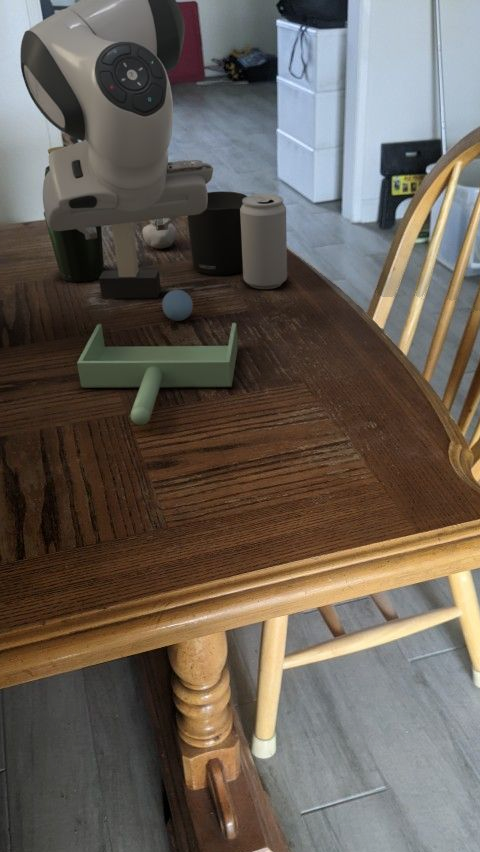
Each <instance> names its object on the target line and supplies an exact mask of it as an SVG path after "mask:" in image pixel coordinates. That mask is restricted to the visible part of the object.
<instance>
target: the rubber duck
mask: <svg viewBox="0 0 480 852" xmlns="http://www.w3.org/2000/svg"><path fill="white" fill-rule="evenodd" d="M148 221H149V223H150V224H147V225H146V226H143V227H142V231H141V232H142V237H143V240H144V241H145V242H146V244H148V245H149V246H151V247H152V248H153V249H159V250H161V249H166V248H169V247H170V246H172V245H174V244H173V243H174V242H175V241H176V239H177V228H176V227H175V225H174V224H173V223H170V224H168V230H159V231H157V230H156V225H155V220H148Z"/></svg>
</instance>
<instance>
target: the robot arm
mask: <svg viewBox="0 0 480 852" xmlns="http://www.w3.org/2000/svg"><path fill="white" fill-rule="evenodd" d="M185 28H186V27H185V20H184V16H183V13H182V10H181V7H180V6H179V4H178V2H177V0H78V1H76V2H75V3H73V4H72V5H70V6H68V7H66V8H62V9H60V10H59V11H57V12H55V13H53V14H51V15H50V16H48V17H46V18H45V19H43V20H41V21H39V22H38V23H36V24H35V25H33V26H32V27H30V28H29V29H28V30H26V31H24V33H23V35H22V39H21V43H20V56H19V57H20V69H21V74H22V75H21V76H22V79H23V81H24V85H25V87H26V90H27V92H28V95H29V97H30V98H31V100H32V102H33V104H34V105H35V107H36V108H37V109H38V110H39V112H40V114H42V115H43V117H44V118H45V119H46V120H47V121H48V122H49V123H50V124H51V125H52V126H54V127H55V128H56V129H57V130H59V131H61V132H63V133H64V134H65V135H67V136H69V137H71V138H73V139H76V140H79V141H78V142H76V143H73V144H70V145H67V147H64V148H61V149H57V150H54V151H52V152H51V153H50V154H49V153H48V166H49V168H50V171H49V172H48V173H47V174H46V176H45V175H44V179H43V184H42V205H43V210H44V211H45V216H46V221H47V224H46V226H47V225H48V227H49V228H50V229H52V230H54V231H64V230H72V229H77V230H78V231H80V232H82V233H84V234H85V238H86V240H87V239H95V238H97V231H96V228H95V227H97V226H101V227H105V226H112V225H114V224H122V223H131V222H133V223H138V222H139V223H140V222H147V221H149V220H155V225H156V230H157V231H159V230H168V224H172V223H173V222H174V221H176V220H177V219H178V218H181V217H187V216H189V215H198V214H200V213H202V212H203V211H205V210H206V208H207V203H208V194H207V193H208V187H207V184H209V183H210V182H211V180H212V178H213V173H214V167H213V166H212V164H210V163H208V162H207V163H206V162H203V161H202V160H199V159H183V160H173V161H169V150H168V149H169V148H170V147H169V146H170V144H171V139H172V134H173V120H174V101H173V94H172V88H171V83H170V79H169V75H168V72H171V71H172V70H174V69H175V68H176V67H177V65H178V63H179V61H180V58H181V54H182V51H183V47H184V39H185ZM44 211H43V212H44ZM46 221H45V222H46Z"/></svg>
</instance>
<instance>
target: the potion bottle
mask: <svg viewBox="0 0 480 852" xmlns="http://www.w3.org/2000/svg"><path fill="white" fill-rule="evenodd" d="M67 146H68V145H67ZM67 146H66V145H65V146H55V147H51V148H49V149H47V152H48V155H49V154H50V153H51V152H52V151H54V150H57V149H61V148H64V147H67ZM49 171H50V168H49V165H48V166H46V167H45V169H44V177H45V176H46V174H47V173H48V172H49ZM43 217H44V220H45V224H46V228H47V232H48V235H49V239H50V242H51V245H52V249H53V253H54V256H55V260H56V263H57V267H58V271H59V275H60V277H61V278H62V279H63V280H65V281H67V282H70V283H84V282H90V281H94V280H97V279H99V277H100V276H101V274H102V272H103V271H105V264H104V249H103V248H104V247H103V246H104V245H103V230H102V226H97V227H95V228H96V231H97V238H95V239H87V240H86V238H85V234H84V233H82V232H80V231H78V230H77V229H72V230H64V231H54V230H52V229H50V228H49V227H48V225H47V221H46V216H45V211H43ZM60 273H62V274H63V275H62V274H60ZM64 275H65V276H64ZM69 276H70V277H69Z"/></svg>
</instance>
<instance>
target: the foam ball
mask: <svg viewBox="0 0 480 852" xmlns="http://www.w3.org/2000/svg"><path fill="white" fill-rule="evenodd" d="M161 305H162V306H161V307H162V311H163V313H164V315H165V316H166V317H167V318H168V319H170V320H172V321H176V322H181V321H184V320H186V319H187V318H188V317H190V315H191V314H192V312H193V309H194V308H193V307H194V304H193V300H192V298H191V296H190V294H188V293H187V292H186V291H184V290H181V289H172V290H170V291H169V292H167V293H166V294H165V295H164V297H163V298H162V303H161Z"/></svg>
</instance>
